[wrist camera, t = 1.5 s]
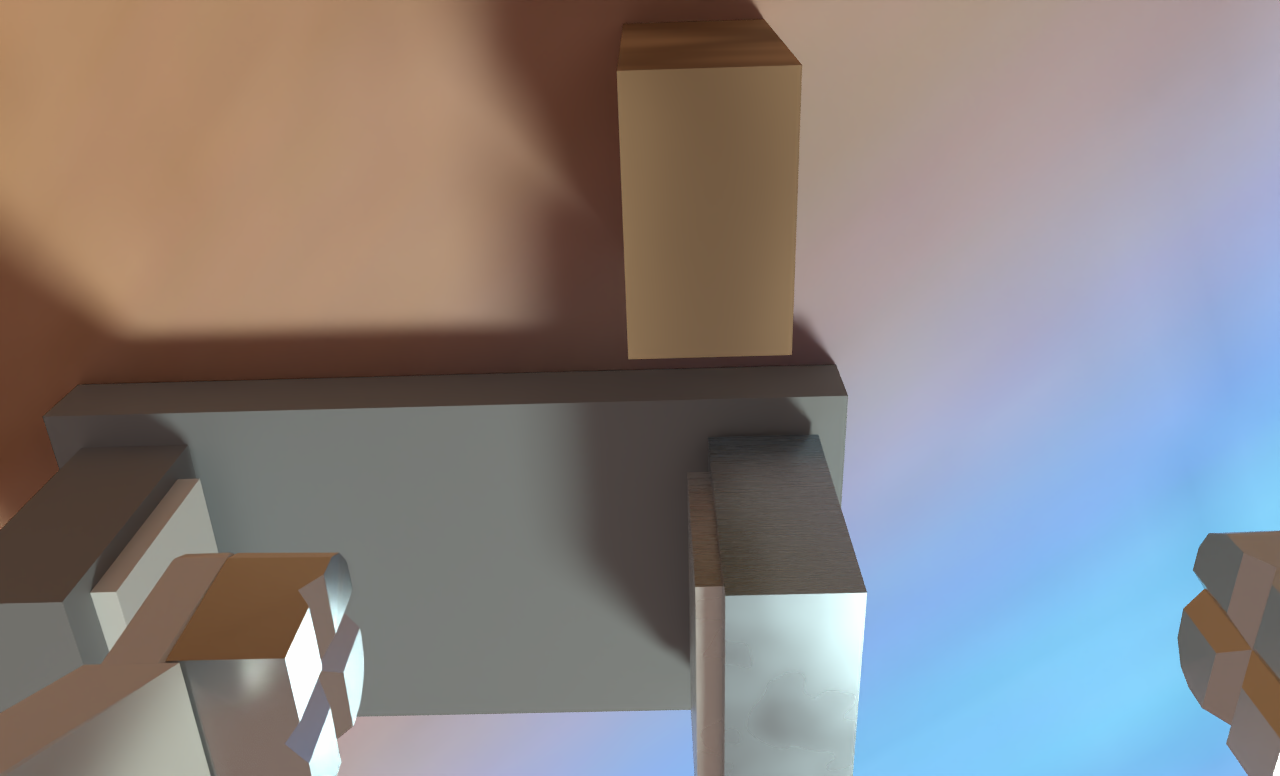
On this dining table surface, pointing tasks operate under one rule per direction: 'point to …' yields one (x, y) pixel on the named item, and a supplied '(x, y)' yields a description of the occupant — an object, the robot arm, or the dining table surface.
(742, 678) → the block
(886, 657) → the dining table surface
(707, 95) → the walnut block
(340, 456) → the vise body
